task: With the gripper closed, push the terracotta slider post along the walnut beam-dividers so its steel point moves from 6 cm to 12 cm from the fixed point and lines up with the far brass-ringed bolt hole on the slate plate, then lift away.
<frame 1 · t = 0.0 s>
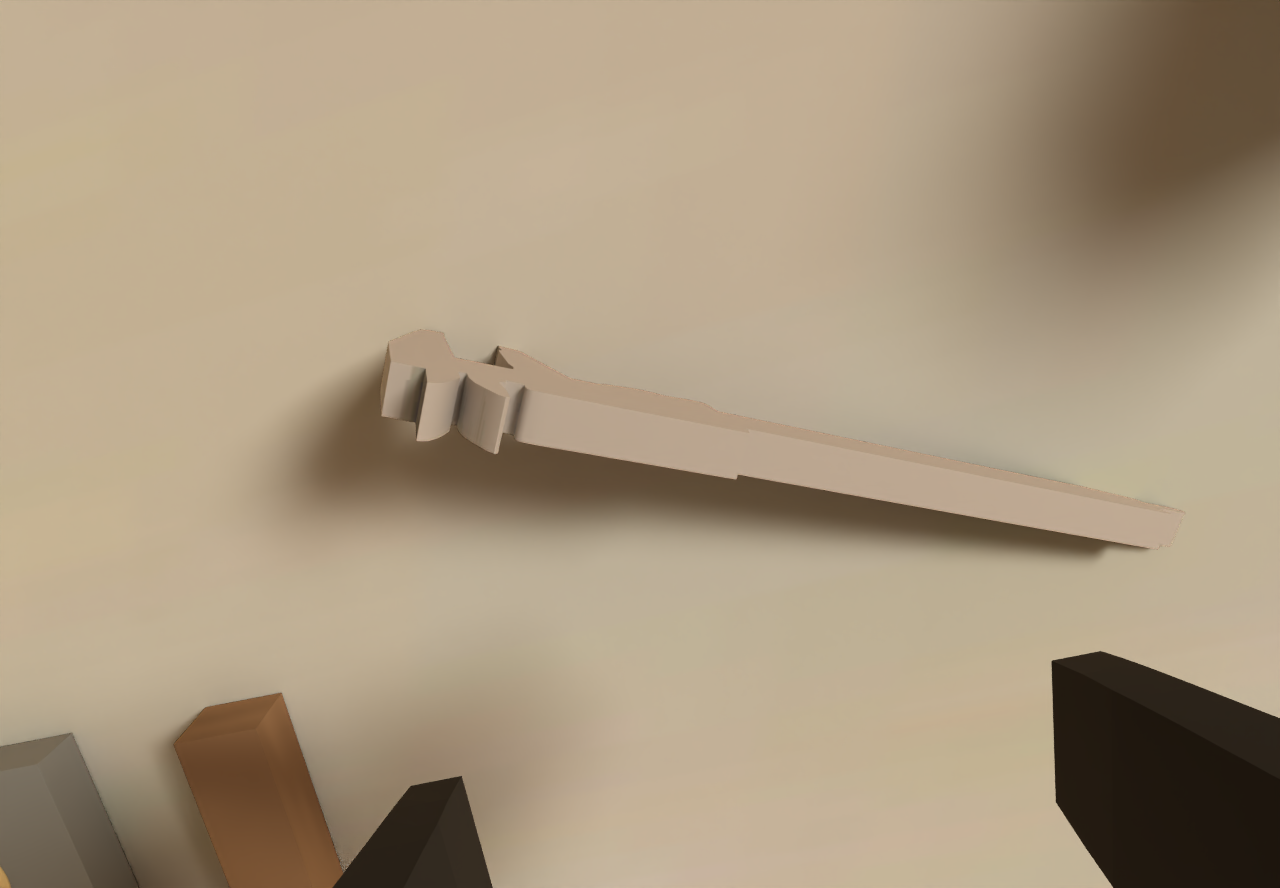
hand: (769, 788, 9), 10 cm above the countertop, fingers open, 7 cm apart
caliper: (816, 439, 19), on the countertop
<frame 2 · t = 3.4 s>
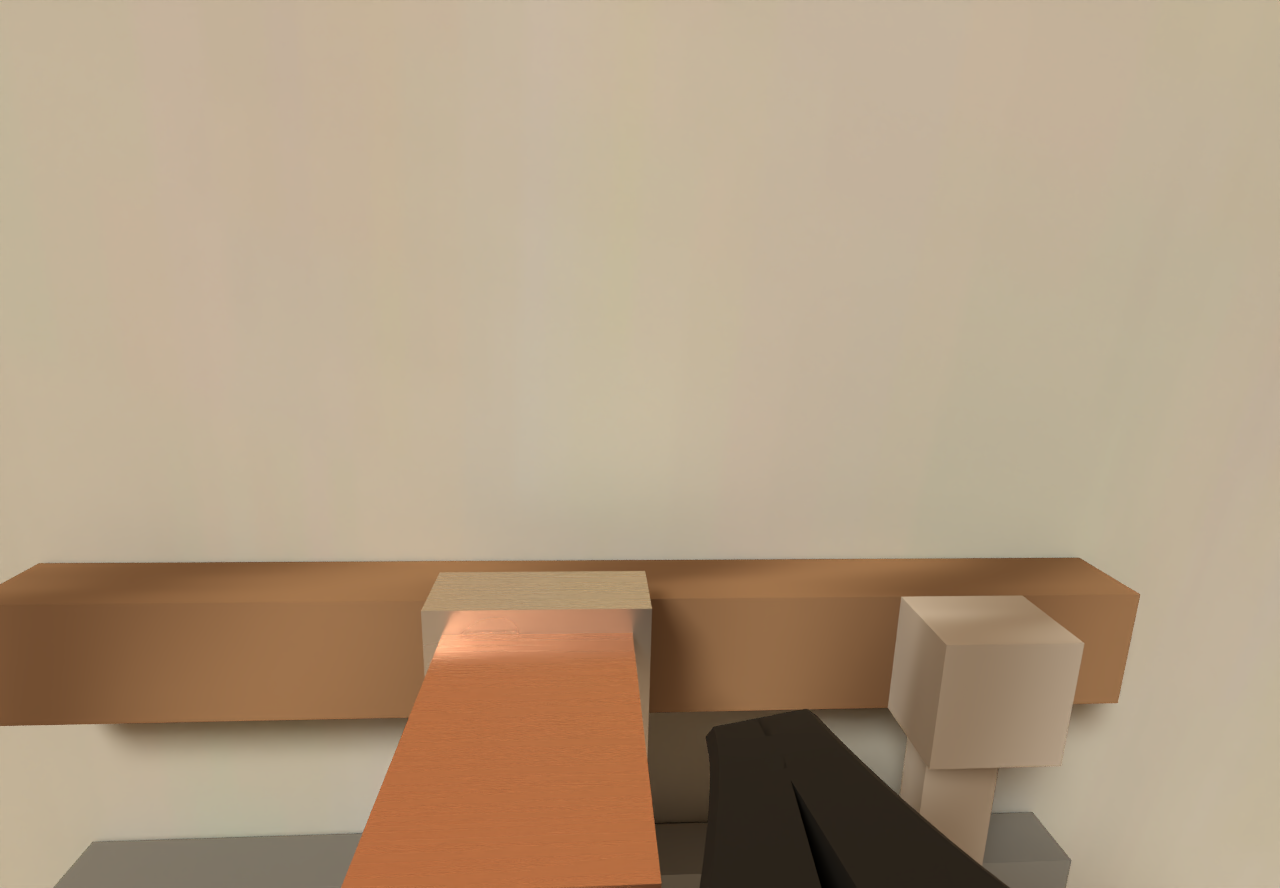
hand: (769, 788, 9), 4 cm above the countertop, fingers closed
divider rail: (585, 612, 13), on the countertop
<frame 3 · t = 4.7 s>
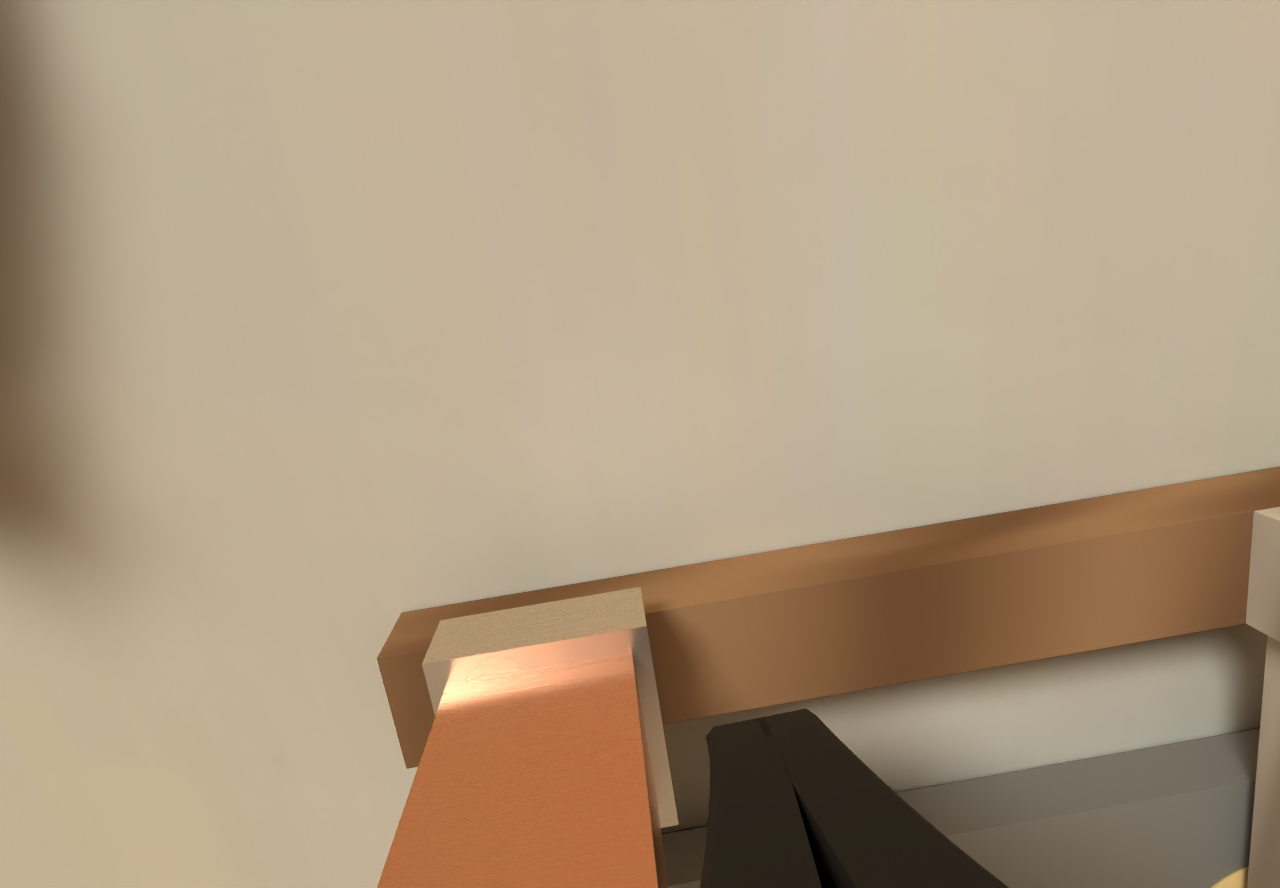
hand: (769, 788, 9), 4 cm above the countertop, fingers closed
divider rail: (910, 579, 13), on the countertop
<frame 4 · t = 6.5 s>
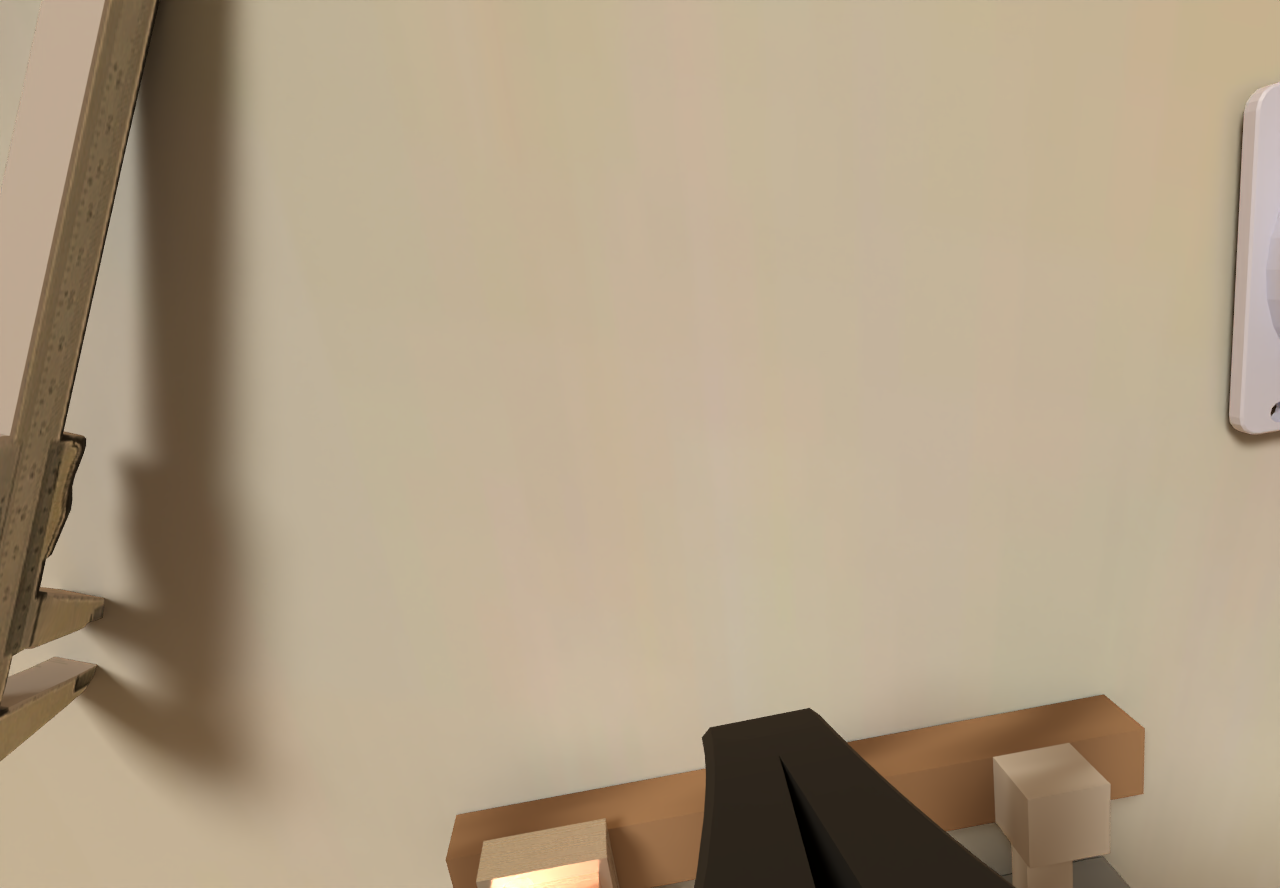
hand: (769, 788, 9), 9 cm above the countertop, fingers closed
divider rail: (788, 784, 20), on the countertop
caliper: (129, 265, 16), on the countertop
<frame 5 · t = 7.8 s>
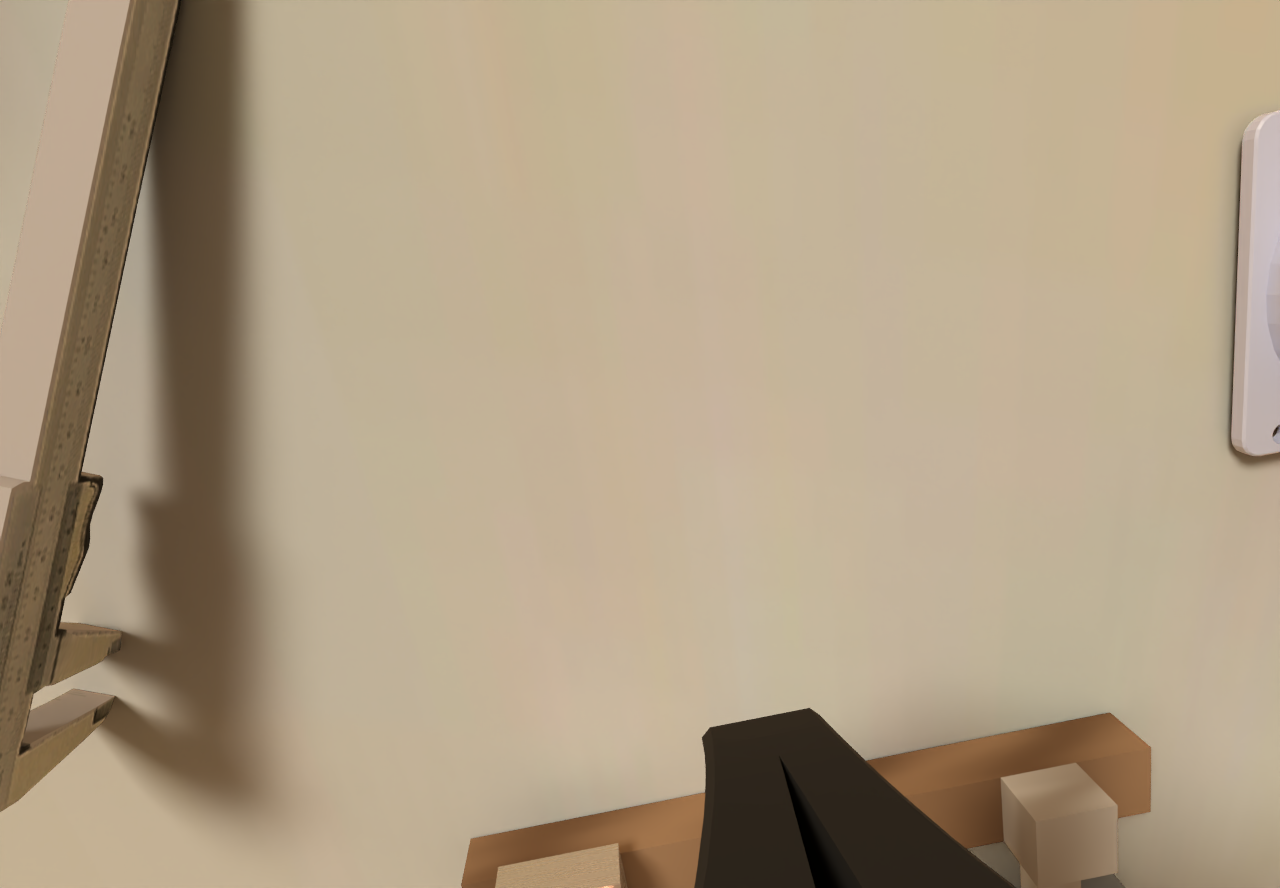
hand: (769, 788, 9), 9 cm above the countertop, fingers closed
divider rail: (798, 805, 20), on the countertop
caliper: (143, 305, 16), on the countertop
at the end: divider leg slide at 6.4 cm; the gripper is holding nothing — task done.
